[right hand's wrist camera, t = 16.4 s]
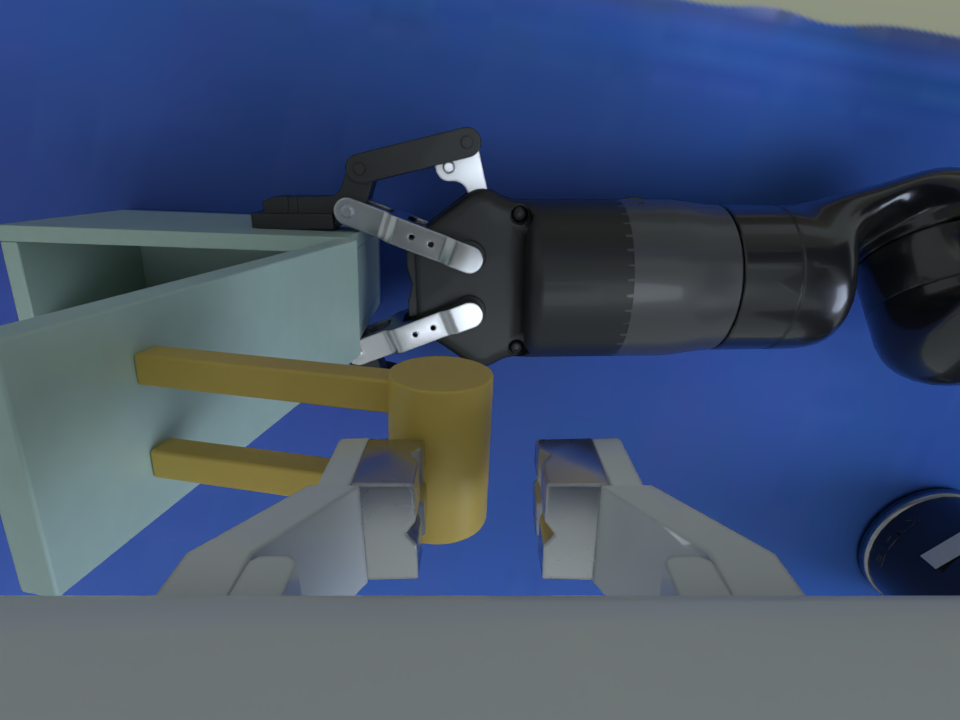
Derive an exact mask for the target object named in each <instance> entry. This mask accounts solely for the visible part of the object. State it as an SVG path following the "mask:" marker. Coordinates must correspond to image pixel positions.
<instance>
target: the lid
mask: <svg viewBox="0 0 960 720" xmlns="http://www.w3.org/2000/svg"><path fill="white" fill-rule="evenodd" d="M359 355H360V330H359V297H358V264H357V240H354V239H336V240H332V241H328V242H324V243H320V244H316V245H313V246H309V247H305V248H301V249H297V250H293V251H289V252H285V253H281V254H278V255H274V256H270V257H266V258H262V259H258V260H254V261H250V262H246V263H243V264H239V265H235V266H231V267H227V268H223V269H219V270H215V271H211V272H208V273H204V274H200V275H196V276H192V277H188V278H184V279H180V280H176V281H173V282H169V283H165V284H161V285H157V286H153V287H149V288H145V289H142V290H138V291H134V292H130V293H126V294H122V295H118V296H114V297H110V298H107V299H103V300H99V301H95V302H91V303H87V304H83V305H79V306H75V307H72V308H68V309H64V310H60V311H56V312H52V313H48V314H44V315H40V316H37V317H33V318H29V319H25V320H21V321H17V322H13V323H9V324H5V325H2V326H0V515H1V518H2V522H3V525H4V529H5V533H6V536H7V540H8V543H9V547H10V551H11V554H12V558H13V561H14V565H15V569H16V572H17V576H18V579H19V583H20V587H21V590H22V591H24V592H28V593H34V594H39V595H45V596H61V595H62V594H63V593H64V592H66V591H67V590H68V589H69V588H70V587H72V586H73V585H74V584H75V583H77V582H78V581H79V580H80V579H82V578H83V577H84V576H85V575H87V574H88V573H89V572H90V571H92V570H93V569H94V568H95V567H97V566H98V565H99V564H100V563H102V562H103V561H104V560H105V559H107V558H108V557H109V556H110V555H112V554H113V553H114V552H115V551H117V550H118V549H119V548H120V547H122V546H123V545H124V544H125V543H126V542H128V541H129V540H130V539H131V538H133V537H134V536H135V535H136V534H138V533H139V532H140V531H141V530H143V529H144V528H145V527H146V526H148V525H149V524H150V523H151V522H153V521H154V520H155V519H156V518H158V517H159V516H160V515H161V514H163V513H164V512H165V511H166V510H168V509H169V508H170V507H171V506H173V505H174V504H175V503H176V502H178V501H179V500H180V499H181V498H182V497H184V496H185V495H186V494H187V493H189V492H190V491H191V490H192V489H194V488H195V487H196V486H197V485H199V484H207V485H214V486H221V487H228V488H236V489H243V490H250V491H257V492H264V493H271V494H278V495H285V496H291V495H292V494H294V493H296V492H298V491H300V490H301V489H303V488H305V487H307V486H309V485H318V483H319V481H320V479H321V477H322V475H323V473H324V471H325V469H326V467H327V465H328V463H329V461H330V459H331V458H325V457H317V456H310V455H302V454H294V453H286V452H279V451H271V450H263V449H255V448H247V447H246V446H247V445H248V444H250V443H251V442H252V441H253V440H255V439H256V438H257V437H258V436H260V435H261V434H262V433H263V432H265V431H266V430H267V429H268V428H270V427H271V426H272V425H273V424H275V423H276V422H277V421H278V420H280V419H281V418H282V417H283V416H285V415H286V414H287V413H288V412H290V411H291V410H292V409H293V408H294V407H296V406H297V405H298V404H299V403H306V404H315V405H323V406H332V407H341V408H350V409H359V410H368V411H376V412H385V413H388V429H389V439H411V440H424V443H425V457H426V465H425V471H424V477H423V481H424V482H425V483H426V485H427V518H426V528H425V534H424V535H423V536H422V543H426V544H448V543H454V542H458V541H461V540H464V539H466V538H469V537H470V536H472V535H474V534H475V533H476V532H478V531H479V530H480V528H481V527H482V526H483V524H484V522H485V520H486V513H487V494H488V475H489V456H490V437H491V418H492V399H493V380H494V377H493V373H492V371H491V370H490V369H489V368H488V367H487V366H485V365H483V364H481V363H478V362H476V361H472V360H469V359H464V358H458V357H449V356H428V357H419V358H414V359H409V360H405V361H403V362H400V363H398V364H396V365H394V366H393V367H392V368H391V369H385V368H375V367H365V366H355V365H348V364H349V363H351V362H352V361H353V360H354V359H355V358H357V357H358V356H359Z"/></svg>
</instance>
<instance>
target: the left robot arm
mask: <svg viewBox="0 0 960 720" xmlns="http://www.w3.org/2000/svg"><path fill="white" fill-rule="evenodd" d="M480 146H481V138H480V135H479V134H478V132H477V131H476V130H474V129H473V128H470V127H464V128H460V129H456V130H452V131H448V132H443V133H439V134H435V135H431V136H427V137H423V138H419V139H415V140H411V141H407V142H403V143H399V144H395V145H391V146H387V147H383V148H379V149H375V150H371V151H367V152H363V153H359V154H355V155H352V156H351V157H350V158H349V159H348V160H347V162H346V167H345V169H346V174H345V177H344V181H343V184H342V187H341V189H340V190H339V192H338V193H337V194H335V195H281V196H275V197H272V198H270V199H267V200H265V201H263V209H264V211H258V212H253V213H251V221H252V228H257V229H281V230H334V229H336V228H338V227H339V226H341V225H346V226H348V227H351V228H354V229H356V230H359V231H362V232H364V233H367V234H370V235H373V236H375V237H378V238H380V239H381V240H383V241H385V242H387V243H389V244H392V245H394V246H397V247H400V248H402V249H405V250H406V255H407V269H408V272H409V275H410V279H411V282H412V288H411V292H410V296H409V301H408V303H409V308H408V309H405V310H403V311H400V312H398V313H396V314H394V315H393V316H391V317H389V318H387V319H384V320H382V321H379V322H376V323H374V324H371V325H368V326H367V328H366V329H365V331H364V333H363V335H362V336H361V338H360V355H359V356H358V357H357V358H355V359H354V360H353V361H352V362H351V363H350V364H351V365H355V366H365V367H375V368H385V369H391V368H392V367H393V366H394V365H396V364H398V363H393V362H388V361H386V360H385V358H384V356H387V355H390V354H392V353H402V352H406V351H408V350H411V349H414V348H416V347H419V346H422V345H424V344H427V343H430V342H432V341H435V340H436V341H437V342H439V343H440V344H442V345H443V346H445V347H446V348H448V349H449V350H451V351H452V352H454V353H455V354H457V355H458V356H460V357H461V358H464V359H469V360H472V361H476V362H478V363H481V364H483V365H485V366H488V365H491V364H493V363H495V362H497V361H498V360H500V359H503V358H506V357H510V356H524V357H541V356H632V355H667V354H675V353H681V352H687V351H695V350H708V349H786V348H799V347H806V346H810V345H813V344H816V343H819V342H821V341H823V340H825V339H826V338H828V337H829V336H831V335H832V334H833V333H834V332H835V331H836V330H837V329H838V328H839V327H840V326H841V324H842V323H843V322H844V320H845V319H846V317H847V315H848V313H849V310H850V308H851V305H852V303H853V300H854V296H855V291H856V287H857V289H858V293H859V296H860V300H861V304H862V307H863V311H864V314H865V318H866V320H867V325H868V328H869V332H870V335H871V339H872V342H873V345H874V348H875V350H876V351H877V353H878V355H879V357H880V359H881V360H882V361H883V363H884V364H885V365H886V366H887V367H888V368H890V369H891V370H892V371H894V372H895V373H897V374H898V375H900V376H903V377H905V378H908V379H910V380H912V381H916V382H920V383H925V384H930V385H942V386H954V385H960V167H944V168H935V169H930V170H926V171H922V172H918V173H914V174H911V175H907V176H904V177H901V178H897V179H894V180H891V181H887V182H884V183H881V184H877V185H874V186H870V187H866V188H863V189H858V190H854V191H850V192H846V193H841V194H837V195H833V196H829V197H825V198H821V199H817V200H813V201H808V202H803V203H799V204H793V205H713V204H701V203H693V202H687V201H680V200H670V199H643V198H639V197H627V198H623V199H511V198H507V197H504V196H502V195H500V194H498V193H496V192H495V191H493V190H491V189H488V188H487V186H486V181H485V177H484V172H483V167H482V163H481V158H480V154H479V149H480ZM433 166H435V169H436V172H437V174H438V176H439V177H440V178H441V179H443V180H445V181H457V182H460V183H461V184H463V185H464V186H465V188H466V190H467V193H466V194H464V195H463V196H462V197H460V198H459V199H458V200H456V201H455V202H454V203H452V204H451V205H450V206H449V207H447V208H446V209H445V210H443V211H442V212H441V213H439V214H438V215H437V216H435V217H434V218H433V219H431V220H430V221H429V220H426V219H423V218H421V217H418V216H415V215H413V214H410V213H408V212H405V211H402V210H399V209H395V208H391V207H389V206H386V205H384V204H381V203H378V202H376V201H373V200H371V199H372V195H373V192H374V189H375V185H376V182H377V180H381V179H385V178H389V177H393V176H397V175H401V174H405V173H409V172H413V171H417V170H421V169H425V168H429V167H433ZM416 333H418V334H416ZM858 560H859V566H860V569H861V572H862V574H863V575H864V577H865V578H866V580H867V581H868V582H869V583H870V584H871V585H872V586H873V587H874V588H875V589H876V590H877V591H878V592H880V593H881V594H882V595H928V596H960V491H957V490H953V489H942V488H941V489H929V490H924V491H920V492H916V493H914V494H911V495H908V496H906V497H904V498H902V499H900V500H898V501H896V502H895V503H893V504H892V505H890V506H889V507H888V508H886V509H885V510H884V511H883V512H881V513H880V514H879V515H878V516H877V517H876V518H875V520H874V521H873V522H872V523H871V524H870V526H869V527H868V529H867V530H866V532H865V534H864V536H863V538H862V541H861V543H860V547H859V553H858Z"/></svg>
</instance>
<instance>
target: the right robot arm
mask: <svg viewBox="0 0 960 720" xmlns="http://www.w3.org/2000/svg"><path fill="white" fill-rule="evenodd" d="M534 462H535V468H536V475H537V479H536V481H535V482H534V487H533V515H534V525H535V533H536V535H537V536H539V541H538V553H539V560H540V566H541V572H542V578H550V579H587V580H593V583H594V584H595V585H596V586H597V587H598V588H599V589H600V590H601V591H602V592H603V593H604V594H605V595H606V596H355V595H356V594H357V593H358V592H359V591H360V590H361V589H362V588H363V587H364V586H365V585H366V583H367V582H368V581H367V580H374V579H409V578H418V576H419V569H420V563H421V556H422V536H423V535H424V534H425V528H426V518H427V485H426V483H425V482H424V481H423V477H424V471H425V465H426V457H425V443H424V440H411V439H369V438H354V439H341V440H340V441H339V442H338V444H337V446H336V448H335V450H334V452H333V454H332V456H331V459H330V461H329V463H328V465H327V467H326V469H325V471H324V473H323V475H322V477H321V479H320V481H319V483H318V485H309V486H307V487H305V488H303V489H301V490H300V491H298V492H296V493H294V494H292V495H291V496H289V497H287V498H285V499H283V500H282V501H280V502H278V503H276V504H274V505H273V506H271V507H269V508H267V509H265V510H264V511H262V512H260V513H258V514H256V515H255V516H253V517H251V518H249V519H247V520H246V521H244V522H242V523H240V524H238V525H237V526H235V527H233V528H231V529H229V530H228V531H226V532H224V533H222V534H220V535H219V536H217V537H215V538H213V539H211V540H209V541H208V542H206V543H204V544H202V545H200V546H199V547H197V548H195V549H193V550H191V551H190V552H188V553H186V555H185V556H184V557H183V559H182V560H181V561H180V563H179V564H178V565H177V567H176V568H175V570H174V571H173V572H172V574H171V575H170V576H169V578H168V579H167V580H166V582H165V583H164V584H163V586H162V587H161V588H160V590H159V591H158V592H157V594H156V595H155V596H0V720H960V596H928V595H805V594H804V593H803V591H802V590H801V589H800V587H799V586H798V585H797V583H796V582H795V581H794V579H793V578H792V576H791V575H790V574H789V572H788V571H787V570H786V568H785V567H784V566H783V564H782V563H781V562H780V560H779V559H778V557H777V556H776V555H775V554H774V553H772V552H770V551H769V550H767V549H765V548H763V547H761V546H760V545H758V544H756V543H754V542H752V541H751V540H749V539H747V538H745V537H744V536H742V535H740V534H738V533H736V532H735V531H733V530H731V529H729V528H727V527H726V526H724V525H722V524H720V523H718V522H717V521H715V520H713V519H711V518H709V517H708V516H706V515H704V514H702V513H700V512H699V511H697V510H695V509H693V508H691V507H690V506H688V505H686V504H684V503H682V502H681V501H679V500H677V499H675V498H673V497H672V496H670V495H668V494H666V493H664V492H663V491H661V490H659V489H657V488H655V487H654V486H652V485H643V484H642V482H641V480H640V478H639V476H638V474H637V472H636V470H635V468H634V466H633V464H632V462H631V460H630V458H629V456H628V454H627V452H626V450H625V448H624V446H623V444H622V442H621V440H620V439H618V438H606V439H551V440H537V441H536V445H535V460H534Z"/></svg>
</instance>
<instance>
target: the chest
mask: <svg viewBox="0 0 960 720" xmlns="http://www.w3.org/2000/svg"><path fill="white" fill-rule="evenodd" d="M336 239H354V240H357V264H358V297H359V330H360V338H361V336H362V335H363V333H364V331H365V329H366V328H367V326H368V324H369V322H370V321H371V319H372V317H373V315H374V314H375V312H376V310H377V308H378V307H379V305H380V304H381V302H382V298H381V239H380V238H378V237H375V236H373V235H370V234H367V233H364V232H362V231H359V230H356V229H354V228H351V227H348V226H346V225H341V226H339V227H338V228H336V229H334V230H281V229H257V228H252V221H251V213H227V212H201V211H175V210H149V209H122V210H117V211H108V212H100V213H91V214H83V215H74V216H66V217H57V218H49V219H40V220H32V221H23V222H15V223H6V224H0V241H2V242H1V246H2V250H3V255H4V259H5V263H6V267H7V272H8V276H9V280H10V284H11V289H12V293H13V297H14V301H15V306H16V310H17V314H18V318H19V321H21V320H25V319H29V318H33V317H37V316H40V315H44V314H48V313H52V312H56V311H60V310H64V309H68V308H72V307H75V306H79V305H83V304H87V303H91V302H95V301H99V300H103V299H107V298H110V297H114V296H118V295H122V294H126V293H130V292H134V291H138V290H142V289H145V288H149V287H153V286H157V285H161V284H165V283H169V282H173V281H176V280H180V279H184V278H188V277H192V276H196V275H200V274H204V273H208V272H211V271H215V270H219V269H223V268H227V267H231V266H235V265H239V264H243V263H246V262H250V261H254V260H258V259H262V258H266V257H270V256H274V255H278V254H281V253H285V252H289V251H293V250H297V249H301V248H305V247H309V246H313V245H316V244H320V243H324V242H328V241H332V240H336Z"/></svg>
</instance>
